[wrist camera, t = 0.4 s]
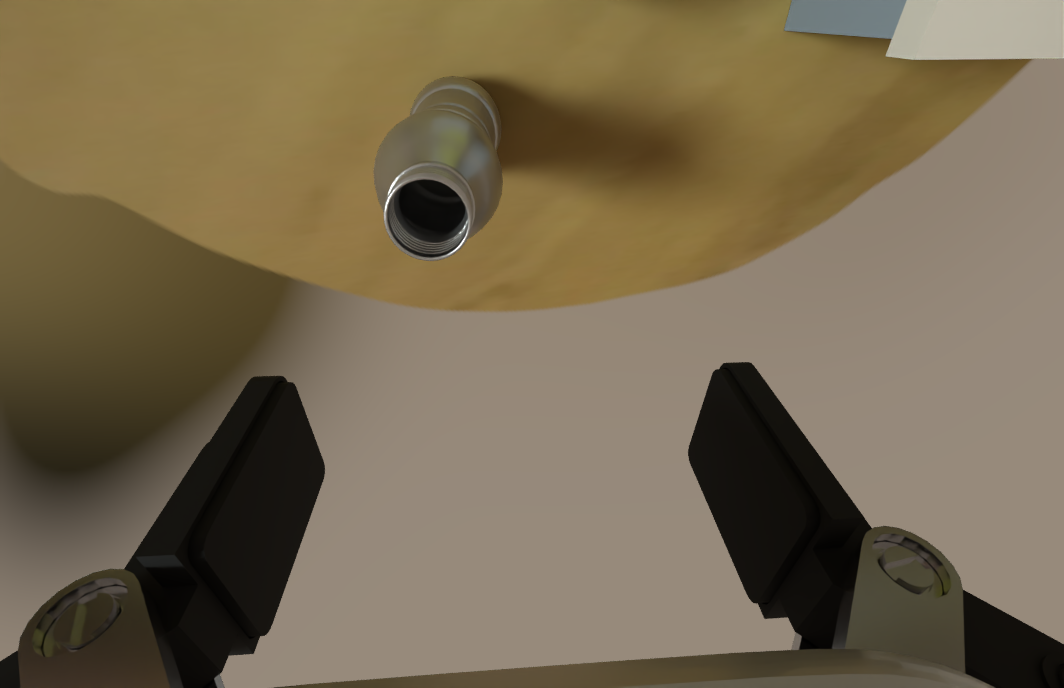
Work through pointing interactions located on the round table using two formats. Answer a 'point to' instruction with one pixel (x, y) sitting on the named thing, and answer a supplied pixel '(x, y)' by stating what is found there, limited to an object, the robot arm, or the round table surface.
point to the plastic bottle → (441, 169)
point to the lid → (979, 30)
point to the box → (846, 17)
